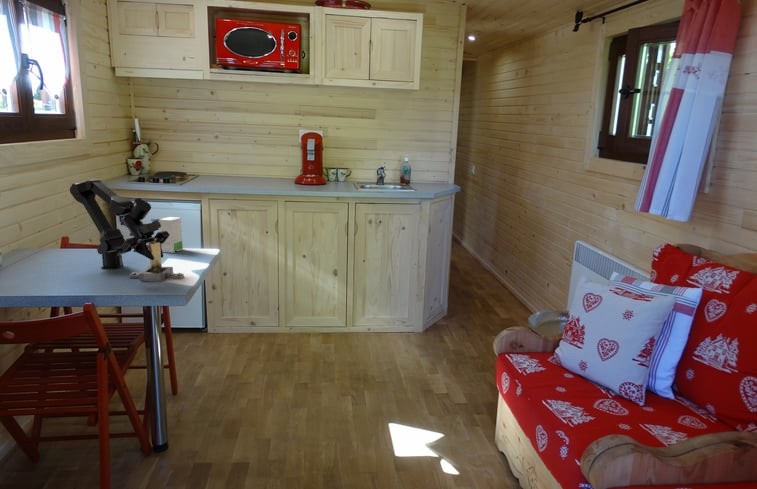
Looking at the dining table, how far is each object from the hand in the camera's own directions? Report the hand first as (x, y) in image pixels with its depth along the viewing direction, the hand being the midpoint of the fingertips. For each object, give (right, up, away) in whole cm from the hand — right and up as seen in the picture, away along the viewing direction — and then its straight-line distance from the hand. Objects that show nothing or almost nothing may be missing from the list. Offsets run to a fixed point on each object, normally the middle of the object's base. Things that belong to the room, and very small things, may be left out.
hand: (157, 258), depth 200 cm
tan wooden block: (-2, -6, +2) cm, 7 cm away
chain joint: (-1, -8, +2) cm, 8 cm away
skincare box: (-11, +2, +42) cm, 43 cm away
